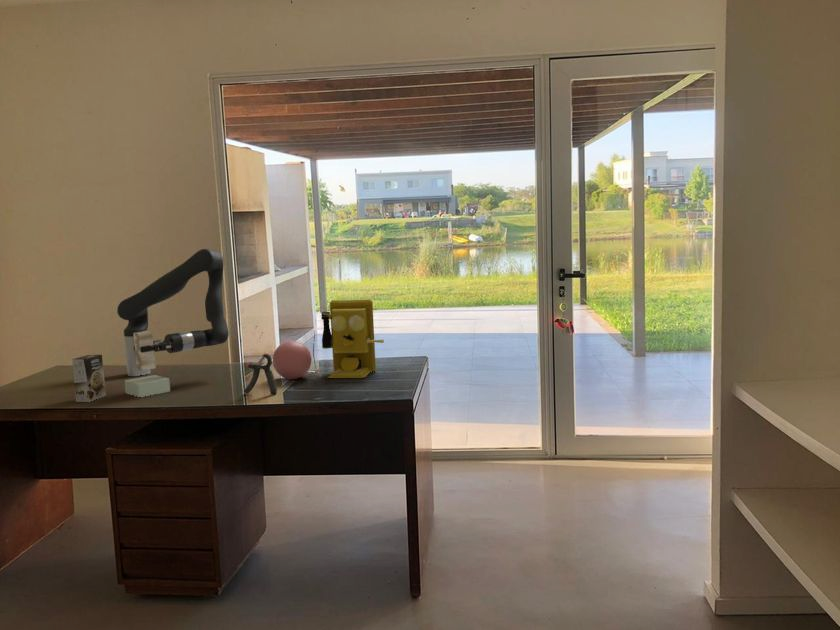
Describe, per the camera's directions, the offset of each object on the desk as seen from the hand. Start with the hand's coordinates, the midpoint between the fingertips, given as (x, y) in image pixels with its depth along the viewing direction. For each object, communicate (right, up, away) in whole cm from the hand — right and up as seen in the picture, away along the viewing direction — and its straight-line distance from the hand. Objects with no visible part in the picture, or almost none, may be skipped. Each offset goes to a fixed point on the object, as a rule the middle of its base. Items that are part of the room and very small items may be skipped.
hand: (137, 349), depth 264 cm
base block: (+2, -17, +4) cm, 17 cm away
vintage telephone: (+77, -12, +21) cm, 81 cm away
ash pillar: (+2, -8, +3) cm, 8 cm away
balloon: (+56, -13, +20) cm, 61 cm away
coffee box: (-16, -19, -3) cm, 25 cm away
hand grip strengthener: (+48, -16, -6) cm, 51 cm away
